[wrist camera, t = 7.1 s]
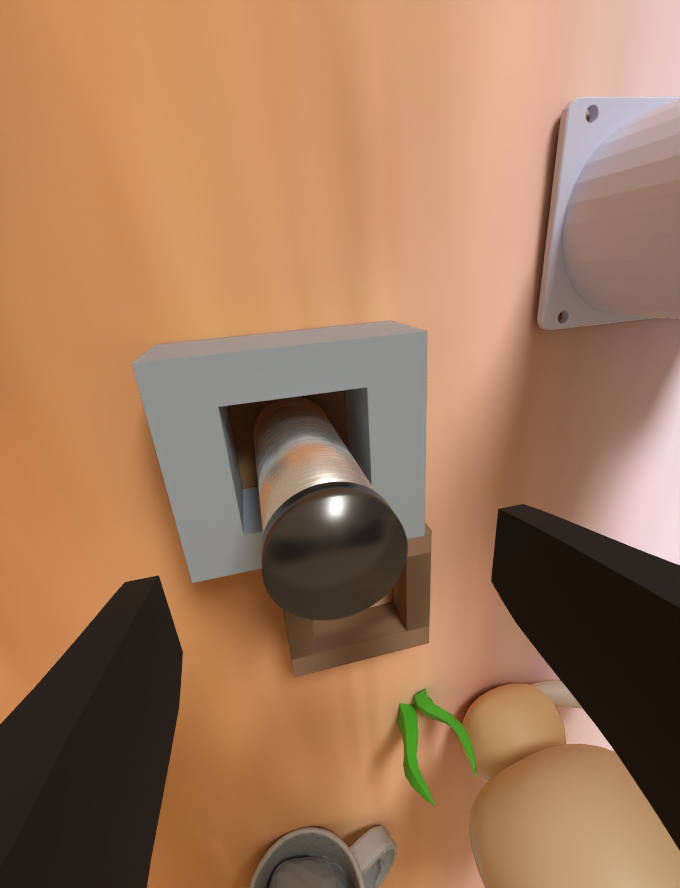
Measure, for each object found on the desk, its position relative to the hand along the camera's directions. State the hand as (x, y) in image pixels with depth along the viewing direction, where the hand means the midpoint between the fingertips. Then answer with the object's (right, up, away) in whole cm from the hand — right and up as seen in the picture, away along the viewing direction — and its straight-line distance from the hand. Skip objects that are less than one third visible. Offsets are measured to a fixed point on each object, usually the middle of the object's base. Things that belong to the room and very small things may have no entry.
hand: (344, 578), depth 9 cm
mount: (0, -4, +12) cm, 13 cm away
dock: (-2, +3, +8) cm, 9 cm away
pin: (-2, +3, +9) cm, 9 cm away
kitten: (+10, -15, +19) cm, 26 cm away
